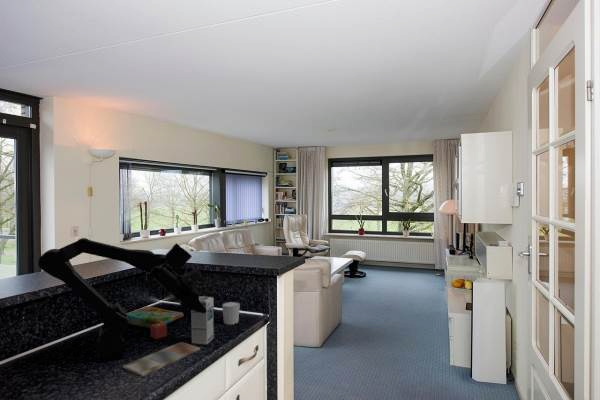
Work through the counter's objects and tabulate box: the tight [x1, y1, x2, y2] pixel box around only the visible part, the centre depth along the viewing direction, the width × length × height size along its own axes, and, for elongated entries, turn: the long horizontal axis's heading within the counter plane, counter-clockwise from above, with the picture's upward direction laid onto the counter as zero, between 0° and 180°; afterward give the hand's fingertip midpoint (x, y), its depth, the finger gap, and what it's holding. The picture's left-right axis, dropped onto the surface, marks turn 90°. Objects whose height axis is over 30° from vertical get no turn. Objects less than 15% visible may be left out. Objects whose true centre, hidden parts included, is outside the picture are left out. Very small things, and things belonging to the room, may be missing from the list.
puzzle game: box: [127, 305, 184, 329], centre depth 142 cm, size 12×5×20 cm
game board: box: [122, 341, 201, 377], centre depth 112 cm, size 21×9×1 cm, turn 148°
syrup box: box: [190, 295, 215, 345], centre depth 125 cm, size 6×6×14 cm
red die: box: [150, 322, 168, 340], centre depth 129 cm, size 4×4×4 cm
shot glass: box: [221, 301, 241, 325], centre depth 144 cm, size 7×7×7 cm
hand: (203, 308), depth 125 cm, fingers closed on syrup box, 8 cm apart
